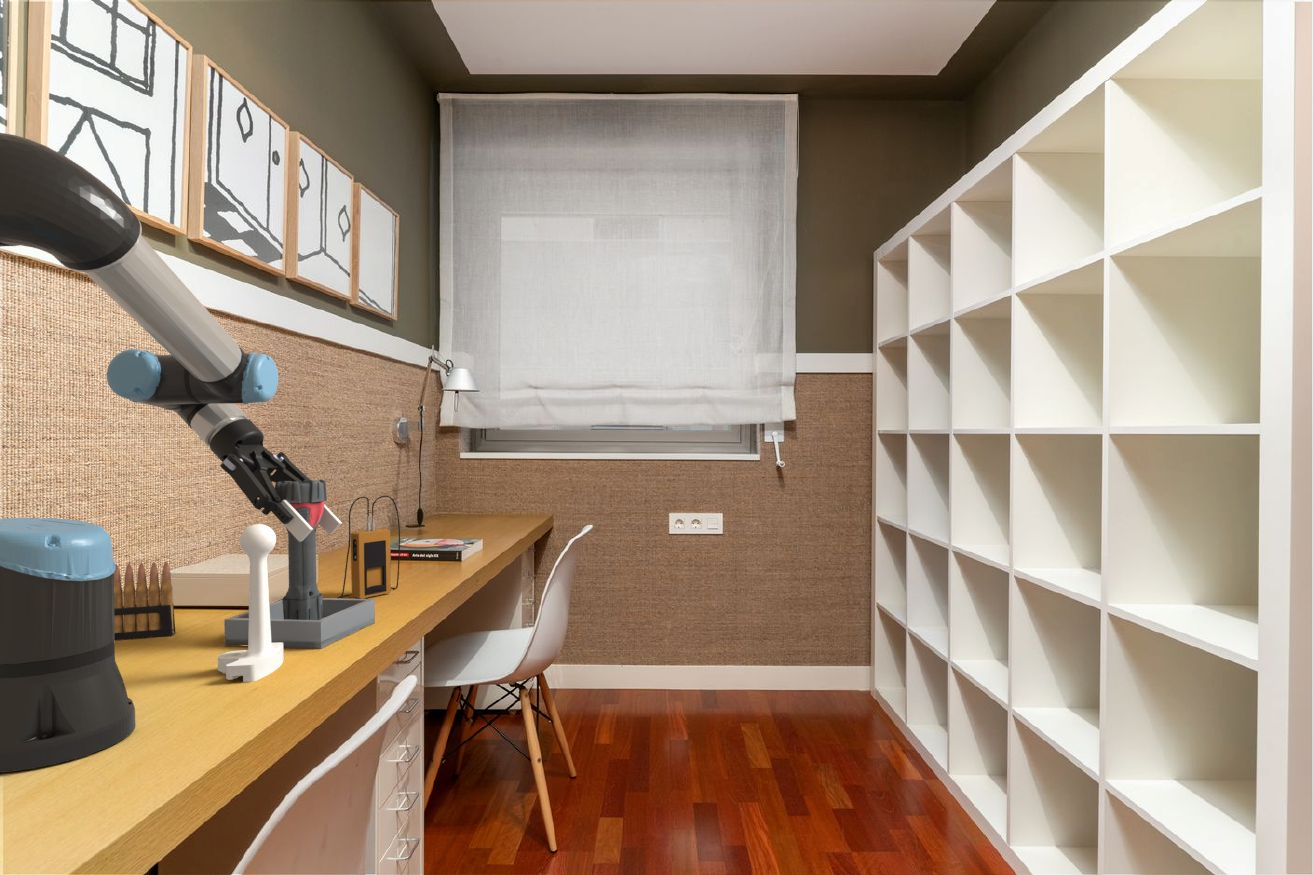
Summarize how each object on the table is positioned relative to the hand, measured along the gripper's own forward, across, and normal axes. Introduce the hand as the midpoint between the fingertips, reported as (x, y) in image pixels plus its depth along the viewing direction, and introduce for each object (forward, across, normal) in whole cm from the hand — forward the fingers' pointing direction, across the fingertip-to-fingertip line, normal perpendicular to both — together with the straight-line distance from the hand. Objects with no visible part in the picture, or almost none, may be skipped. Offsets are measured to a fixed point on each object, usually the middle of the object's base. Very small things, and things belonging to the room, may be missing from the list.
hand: (321, 532), depth 126 cm
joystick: (+12, +19, -11) cm, 25 cm away
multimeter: (+4, -30, -19) cm, 36 cm away
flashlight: (+8, 0, -13) cm, 15 cm away
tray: (+9, 0, -14) cm, 17 cm away
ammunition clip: (-9, +5, -33) cm, 34 cm away
